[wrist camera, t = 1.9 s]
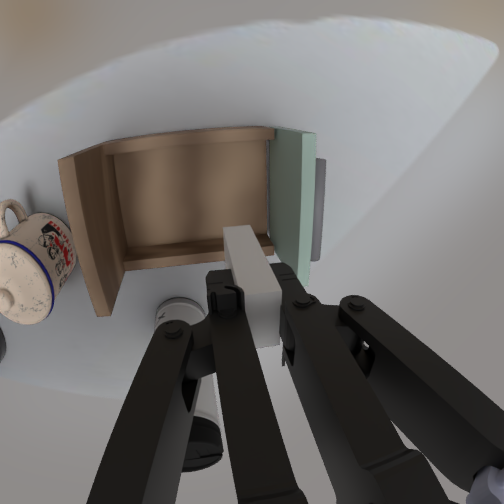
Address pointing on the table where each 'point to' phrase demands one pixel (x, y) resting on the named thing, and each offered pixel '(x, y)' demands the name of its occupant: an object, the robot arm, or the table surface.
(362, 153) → the table surface
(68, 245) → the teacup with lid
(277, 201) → the panel
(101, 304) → the cart bed
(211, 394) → the travel mug
